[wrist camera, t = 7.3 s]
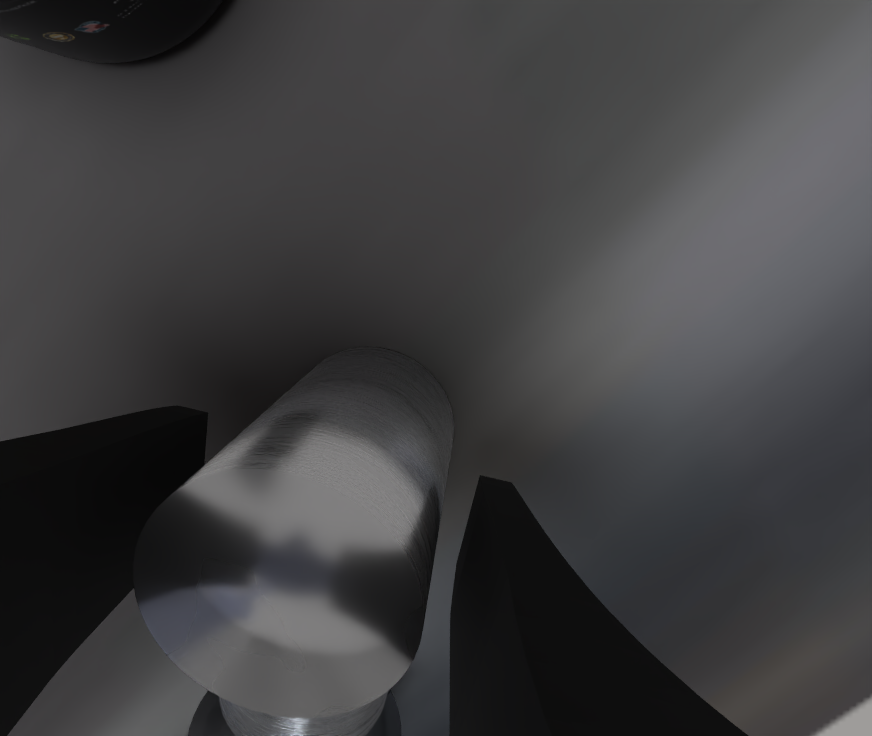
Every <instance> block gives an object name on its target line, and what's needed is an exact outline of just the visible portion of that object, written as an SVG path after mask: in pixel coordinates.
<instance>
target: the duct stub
mask: <svg viewBox="0 0 872 736" xmlns="http://www.w3.org/2000/svg"><path fill="white" fill-rule="evenodd" d="M188 736H235V735H234V733H233V732H232V730H231V729H230V727H229V726H228V724H227V722H226V720H225V718H224V716H223V713H222V710H221V706H220V700H219V696H218V695H216V694H214V693H212V692H211V691H209V690H208V692H207V693H206V695H205V696H204V698H203V699H202V701H201V702H200V704H199V706H198V708H197V710H196V712H195V714H194V717H193V720H192V723H191V725H190V728H189V733H188ZM366 736H401V722H400V716H399V711H398V708H397V705H396V701H395V699H394V697H393V694H392V692H391V690H390V689H389V690H388V693H387V697H386V701H385V704H384V707H383V710H382V712H381V714H380V717H379V718H378V720H377V722H376V723H375V725H374V726H373V728H372V729H371V730H370V731H369V733H368V734H367V735H366Z"/></svg>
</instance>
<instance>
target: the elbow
mask: <svg viewBox="0 0 872 736" xmlns="http://www.w3.org/2000/svg"><path fill="white" fill-rule="evenodd" d="M453 437H454V420H453V414H452V410H451V406H450V403H449V401H448V398H447V396H446V394H445V392H444V390H443V388H442V387H441V386H440V384H439V383H438V381H437V380H436V379H435V378H434V377H433V376H432V374H431V373H430V372H429V371H428V370H426V369H425V368H424V367H423V366H422V365H420V364H419V363H417V362H416V361H414V360H413V359H411V358H409V357H407V356H405V355H403V354H401V353H398V352H395V351H392V350H389V349H383V348H377V347H358V348H352V349H347V350H344V351H341V352H338V353H335V354H334V355H332V356H330V357H328V358H326V359H325V360H323V361H322V362H320V363H319V364H318V365H317V366H315V367H314V368H313V369H312V370H311V371H310V372H309V373H308V374H306V375H305V376H304V377H303V378H302V379H301V380H300V381H299V382H297V383H296V384H295V385H294V386H293V387H292V388H291V389H290V390H288V391H287V392H286V393H285V394H284V395H283V396H282V397H281V398H279V399H278V400H277V401H276V402H275V403H274V404H273V405H272V406H270V407H269V408H268V409H267V410H266V411H265V412H264V413H263V414H261V415H260V416H259V417H258V418H257V419H256V420H255V421H253V422H252V423H251V424H250V425H249V426H248V427H247V428H246V429H244V430H243V431H242V432H241V433H240V434H239V435H238V436H237V437H235V438H234V439H233V440H232V441H231V442H230V443H229V444H228V445H226V446H225V447H224V448H223V449H222V450H221V451H220V452H219V453H217V454H216V455H215V456H214V457H213V458H212V459H211V460H210V461H208V462H207V463H206V464H205V465H204V466H203V467H202V468H201V469H199V470H198V471H197V472H196V473H195V474H194V475H193V476H191V477H190V478H189V479H188V480H187V481H186V482H185V483H184V484H182V485H181V486H180V487H179V488H178V489H177V490H176V491H175V492H173V493H172V494H171V495H170V496H169V497H168V498H167V499H166V500H165V501H164V502H163V503H162V504H160V505H159V506H158V507H157V508H156V510H155V511H154V512H153V514H152V515H151V516H150V518H149V519H148V520H147V522H146V524H145V526H144V528H143V530H142V532H141V534H140V536H139V539H138V542H137V545H136V549H135V554H134V561H133V583H134V589H135V595H136V599H137V602H138V606H139V609H140V612H141V614H142V617H143V619H144V621H145V623H146V625H147V627H148V629H149V631H150V632H151V634H152V636H153V637H154V639H155V641H156V642H157V643H158V645H159V646H160V647H161V649H162V650H163V651H164V652H165V654H166V655H167V656H168V657H169V658H170V659H171V660H172V661H173V662H174V663H175V664H176V665H177V666H178V667H179V668H180V669H181V670H182V671H183V672H184V673H186V674H187V675H188V676H189V677H190V678H191V679H193V680H194V681H195V682H197V683H198V684H200V685H201V686H203V687H204V688H206V689H207V690H209V691H211V692H212V693H214V694H216V695H218V696H219V700H220V706H221V710H222V713H223V716H224V718H225V720H226V722H227V724H228V726H229V727H230V729H231V730H232V732H233V733H234V735H235V736H366V735H367V734H368V733H369V731H370V730H371V729H372V728H373V726H374V725H375V723H376V722H377V720H378V718H379V717H380V714H381V712H382V710H383V707H384V704H385V701H386V697H387V693H388V690H389V689H390V688H392V687H393V686H394V685H395V684H396V683H397V682H398V681H399V680H400V678H401V677H402V676H403V675H404V674H405V672H406V671H407V670H408V668H409V666H410V664H411V663H412V661H413V659H414V657H415V655H416V652H417V650H418V647H419V645H420V640H421V635H422V631H423V625H424V619H425V612H426V606H427V600H428V594H429V587H430V581H431V575H432V569H433V562H434V556H435V550H436V544H437V537H438V531H439V525H440V519H441V512H442V506H443V500H444V494H445V487H446V481H447V475H448V469H449V462H450V456H451V450H452V444H453Z"/></svg>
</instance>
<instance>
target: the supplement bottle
mask: <svg viewBox="0 0 872 736" xmlns="http://www.w3.org/2000/svg"><path fill="white" fill-rule="evenodd" d="M222 1H223V0H0V36H1V37H4V38H7V39H10V40H13V41H16V42H20V43H23V44H26V45H29V46H32V47H36V48H39V49H42V50H45V51H48V52H51V53H55V54H58V55H61V56H64V57H68V58H73V59H78V60H83V61H88V62H96V63H123V62H130V61H136V60H142V59H145V58H149V57H152V56H155V55H158V54H160V53H162V52H165V51H167V50H169V49H171V48H173V47H174V46H176V45H178V44H179V43H181V42H183V41H184V40H185V39H187V38H188V37H189V36H191V35H192V34H193V33H195V32H196V31H197V30H198V29H199V28H200V27H201V26H202V25H203V24H204V23H205V22H206V21H207V20H208V19H209V18H210V17H211V15H212V14H213V13H214V12H215V11H216V9H217V8H218V7H219V5H220V4H221V2H222Z"/></svg>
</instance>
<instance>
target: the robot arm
mask: <svg viewBox="0 0 872 736" xmlns="http://www.w3.org/2000/svg"><path fill="white" fill-rule="evenodd" d="M207 420H208V413H207V412H203V411H199V410H194V409H190V408H186V407H181V406H169V407H161V408H155V409H150V410H145V411H140V412H135V413H131V414H126V415H122V416H117V417H113V418H109V419H104V420H100V421H95V422H91V423H87V424H82V425H78V426H73V427H69V428H65V429H60V430H55V431H50V432H45V433H40V434H35V435H31V436H26V437H21V438H16V439H11V440H6V441H1V442H0V736H7V735H8V734H9V732H10V731H11V730H12V728H13V727H14V726H15V725H16V723H17V722H18V721H19V719H20V718H21V717H22V716H23V714H24V713H25V712H26V710H27V709H28V708H29V707H30V705H31V704H32V703H33V701H34V700H35V699H36V698H37V696H38V695H39V694H40V692H41V691H42V690H43V689H44V687H45V686H46V685H47V683H48V682H49V681H50V680H51V678H52V677H53V676H54V675H55V673H56V672H57V671H58V670H59V669H60V668H61V666H62V665H63V664H64V663H65V662H66V661H67V660H68V658H69V657H70V656H71V655H72V654H73V653H74V651H75V650H76V649H77V648H78V647H79V646H80V645H81V644H82V643H83V642H84V641H85V639H86V638H87V637H88V636H89V635H90V634H91V633H92V632H93V631H94V630H95V629H96V628H97V627H98V625H99V624H100V623H101V622H102V621H103V620H104V619H105V618H106V617H107V616H108V615H109V614H110V613H111V612H112V610H113V609H114V608H115V607H116V606H117V605H118V604H119V603H120V602H121V601H122V600H123V599H124V598H125V597H126V595H127V594H128V593H129V592H130V591H131V590H132V589H133V588H134V583H133V561H134V554H135V549H136V545H137V542H138V539H139V536H140V534H141V532H142V530H143V528H144V526H145V524H146V522H147V520H148V519H149V518H150V516H151V515H152V514H153V512H154V511H155V510H156V508H157V507H158V506H159V505H160V504H162V503H163V502H164V501H165V500H166V499H167V498H168V497H169V496H170V495H171V494H172V493H173V492H175V491H176V490H177V489H178V488H179V487H180V486H181V485H182V484H184V483H185V482H186V481H187V480H188V479H189V478H190V477H191V476H193V475H194V474H195V473H196V472H197V471H198V470H199V469H201V468H202V467H203V466H204V460H205V446H206V433H207ZM450 736H748V735H747V734H745V733H744V732H743V731H742V730H740V729H739V728H738V727H736V726H735V725H734V724H733V723H731V722H730V721H729V720H728V719H726V718H725V717H724V716H723V715H722V714H720V713H719V712H718V711H717V710H715V709H714V708H713V707H712V706H711V705H709V704H708V703H707V702H706V701H704V700H703V699H702V698H701V697H700V696H698V695H697V694H696V693H695V692H694V691H693V690H692V689H690V688H689V687H688V686H687V685H686V684H685V683H684V682H683V681H681V680H680V679H679V678H678V677H677V676H676V675H675V674H674V673H672V672H671V671H670V670H669V669H668V668H667V667H666V666H665V665H663V664H662V663H661V662H660V661H659V660H658V659H657V658H656V657H655V656H654V655H652V654H651V653H650V652H649V651H648V650H647V649H646V648H645V647H644V646H643V645H642V644H641V643H640V642H639V641H638V640H637V639H636V638H635V637H634V636H633V635H632V634H631V633H630V632H629V631H628V630H627V629H626V628H625V627H624V626H623V625H622V624H621V623H620V622H619V621H618V620H617V619H616V618H615V617H614V616H613V615H612V614H611V613H610V612H609V610H608V609H607V608H606V607H605V606H604V605H603V604H602V603H601V602H600V601H599V600H598V598H597V597H596V596H595V595H594V594H593V593H592V592H591V591H590V589H589V588H588V587H587V586H586V585H585V583H584V582H583V581H582V580H581V578H580V577H579V576H578V575H577V574H576V572H575V571H574V570H573V569H572V568H571V566H570V565H569V564H568V563H567V561H566V560H565V559H564V557H563V556H562V555H561V553H560V552H559V551H558V549H557V548H556V547H555V545H554V544H553V543H552V541H551V540H550V539H549V537H548V536H547V534H546V533H545V532H544V530H543V529H542V527H541V526H540V524H539V523H538V521H537V520H536V519H535V517H534V516H533V514H532V513H531V511H530V510H529V508H528V507H527V505H526V503H525V502H524V500H523V499H522V497H521V496H520V494H519V493H518V491H517V490H516V488H515V487H514V485H513V484H512V483H511V482H507V481H502V480H498V479H494V478H489V477H485V476H481V475H480V477H479V481H478V485H477V489H476V492H475V496H474V500H473V504H472V507H471V511H470V515H469V519H468V522H467V526H466V530H465V534H464V538H463V541H462V545H461V549H460V553H459V556H458V560H457V564H456V572H455V580H454V588H453V596H452V604H451V613H450Z"/></svg>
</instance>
